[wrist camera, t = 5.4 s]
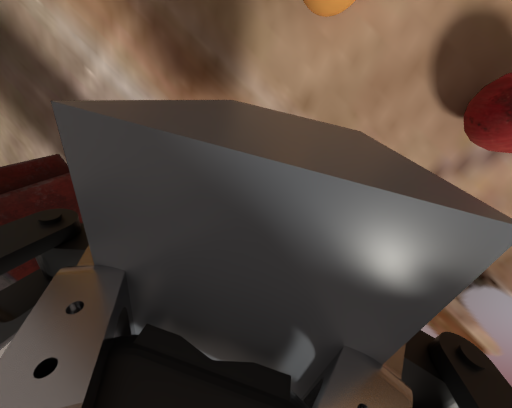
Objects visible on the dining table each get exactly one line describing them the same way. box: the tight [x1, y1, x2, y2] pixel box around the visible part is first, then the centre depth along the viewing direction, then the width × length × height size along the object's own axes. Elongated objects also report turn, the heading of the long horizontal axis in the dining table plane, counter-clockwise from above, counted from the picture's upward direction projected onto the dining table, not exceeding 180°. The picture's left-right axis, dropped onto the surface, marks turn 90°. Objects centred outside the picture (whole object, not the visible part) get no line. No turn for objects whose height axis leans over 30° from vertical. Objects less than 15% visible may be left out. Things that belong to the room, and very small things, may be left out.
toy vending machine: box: [0, 154, 83, 350], centre depth 18 cm, size 9×11×28 cm
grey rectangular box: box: [51, 100, 512, 399], centre depth 9 cm, size 6×10×8 cm, turn 168°
